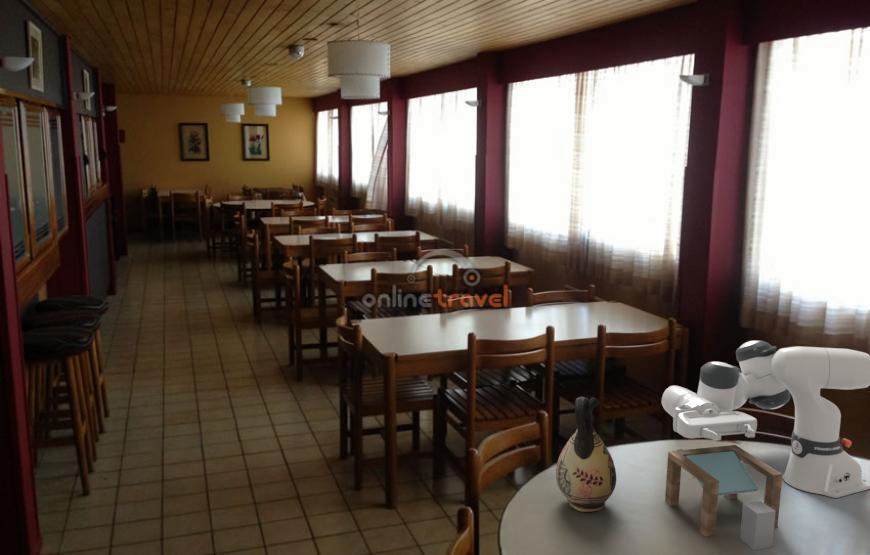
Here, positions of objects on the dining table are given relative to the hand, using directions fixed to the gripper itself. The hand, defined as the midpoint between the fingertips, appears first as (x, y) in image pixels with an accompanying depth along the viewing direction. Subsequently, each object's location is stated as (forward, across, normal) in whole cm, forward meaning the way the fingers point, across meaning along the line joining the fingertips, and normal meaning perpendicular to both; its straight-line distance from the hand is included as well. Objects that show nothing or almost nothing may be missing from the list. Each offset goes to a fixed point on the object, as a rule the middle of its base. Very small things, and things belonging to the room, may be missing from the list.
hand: (735, 436), depth 180 cm
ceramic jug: (-16, +32, -23) cm, 42 cm away
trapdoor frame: (-4, 0, -22) cm, 23 cm away
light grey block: (+10, 0, -14) cm, 17 cm away
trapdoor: (-5, 0, -12) cm, 13 cm away
